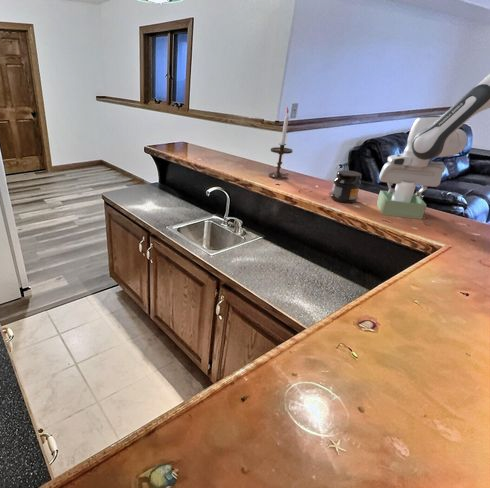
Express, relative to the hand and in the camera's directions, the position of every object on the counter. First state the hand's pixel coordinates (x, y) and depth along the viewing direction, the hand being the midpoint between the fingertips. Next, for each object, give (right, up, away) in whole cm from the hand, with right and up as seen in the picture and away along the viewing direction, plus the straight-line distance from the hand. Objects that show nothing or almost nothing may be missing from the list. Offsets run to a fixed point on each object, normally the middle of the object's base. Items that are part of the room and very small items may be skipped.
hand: (403, 194), depth 139 cm
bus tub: (0, -6, +3) cm, 7 cm away
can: (0, -6, +3) cm, 6 cm away
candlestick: (-35, +16, +48) cm, 62 cm away
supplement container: (-17, 0, +15) cm, 23 cm away
